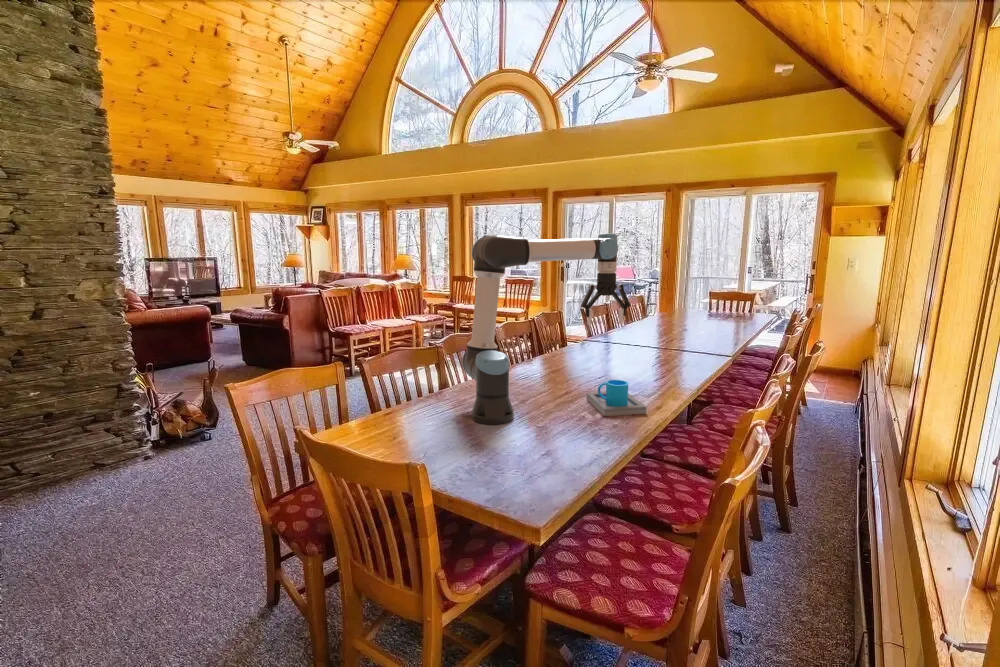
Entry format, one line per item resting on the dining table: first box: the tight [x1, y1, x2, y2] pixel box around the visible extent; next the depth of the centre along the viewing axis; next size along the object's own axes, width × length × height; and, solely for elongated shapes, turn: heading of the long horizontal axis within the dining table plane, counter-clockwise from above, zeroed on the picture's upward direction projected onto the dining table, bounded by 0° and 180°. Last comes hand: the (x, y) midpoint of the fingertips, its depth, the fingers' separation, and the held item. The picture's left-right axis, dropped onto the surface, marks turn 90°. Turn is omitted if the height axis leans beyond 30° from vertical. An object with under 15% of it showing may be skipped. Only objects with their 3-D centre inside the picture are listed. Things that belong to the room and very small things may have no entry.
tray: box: [586, 391, 647, 417], centre depth 189 cm, size 16×20×3 cm
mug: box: [597, 379, 629, 407], centre depth 189 cm, size 12×8×8 cm
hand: (605, 324), depth 203 cm, fingers open, 13 cm apart
